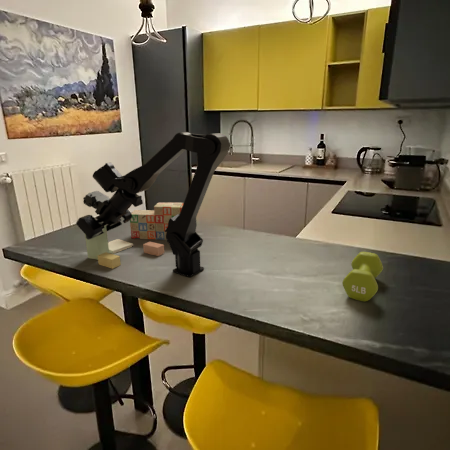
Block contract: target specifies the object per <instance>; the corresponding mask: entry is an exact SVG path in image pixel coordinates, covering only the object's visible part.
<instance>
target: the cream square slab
mask: <svg viewBox="0 0 450 450" xmlns="http://www.w3.org/2000/svg"><path fill="white" fill-rule="evenodd" d="M108 246H109V253H110V254H114V255H115V254H117V253H119V252H121V251H122V252H123V251H125V250H128V249H130V248H133V247H134V243H132V242H129V241H125V240H122V239H119V238H116V239H114V240H110V241H108ZM132 246H133V247H132ZM127 248H128V249H127Z"/></svg>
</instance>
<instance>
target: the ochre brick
mask: <svg viewBox="0 0 450 450" xmlns="http://www.w3.org/2000/svg"><path fill="white" fill-rule="evenodd" d="M97 262H98V263H97V264H98V265H100V266H103V267H106V268H110V269H113V270H114V269H115V268H117V267H119V266H121V256H120V255H117V254H115V253H114V254H112V253H110V252H109V253H107V252H105V253H103V254H100V255H98V260H97Z"/></svg>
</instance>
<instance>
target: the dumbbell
mask: <svg viewBox="0 0 450 450" xmlns="http://www.w3.org/2000/svg"><path fill="white" fill-rule="evenodd" d="M350 264H351V268H352V270H350V272H349V273H348V274H347V275H346V276H345V277H344V278H343V280H342V284H341V285H342V286H343V289H344V291H345V294H346V295H347V297H349V298H350V299H351V300H354V301H355V300H356V301H360V302H369V300H371V299H372V298H373V297H374V296H375V295H376V293H378V290H379V285H378V283H377V280H376V278H378V276H379V275H380V274H381V273H382V271H383V270H384V266H383V262H382V261H381V259H380V256H379V255H378V254H377V253H375V252H370V251H369V252H368V251H360V252H358V254H357V255H356V256H355V257H354V258H353V259H352V261H351V263H350Z"/></svg>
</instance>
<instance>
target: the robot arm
mask: <svg viewBox="0 0 450 450" xmlns="http://www.w3.org/2000/svg"><path fill="white" fill-rule="evenodd" d="M230 149H231V143H230V140H229V138H228V137H227V135H225V134H224V133H221V132H220V133H219V132H218V133H210V134H209V133H208V134H198V133H191V132H188V131H182V132H177V133H175V134H174V136H173V137H172V138H171V139H170V140H169V141H168V142H167V143H166V144H165V145H164V146H163V147H161V148H160V150H158V151H157V152H156V153H155V154H154V155H153V156H152V157H151V158H150V159H149V160H148V161H146V163H144V164H143V165H141V166H139V167H137V168H134V169H133V170H131V171H129V172H127V173H126V174H124V175H122V174H121V173H120V172H119V171H118V170H117V169H116V167H115V166H114V164H113V163H112V162H105V164H104V165H102V166H101V167H100V168H98V169H97V170H95V171H94V172H93V174H92V178H93V180H95V182H96V183H97V184H98V185H99V187H101V189H103V191H105V193H111V194H112V193H113V194H112V196H111V197H109V196H108V195H106V194H104V193H103V192H101V191H99V190H95V191H92V192H88V193H87V194H85V196H83V200H82V201H83V205H85V206H87V207H88V208H91V207H92V208H93V209H95V210H94V212H95V214H96V215H97V216H96V217H94V216H93V215H92V214H86V215H84V216H81V217H79V218H78V219H77V220H76V222H75V223H76V226H77V227H78V228H79V229H80V230H81V231H82V232H83V233H84V236H85V235H86V238H87V239H88V240H89V239H91V238H94V237H96V236H99V235H101V234H103V233H104V232H103V231H102V230H103V229H104V226H106V229H107V232H109V231H111V230H114V229H116V228H119V227H120V226H122V225H123V223H124V224H126V223H128V222H130V219H131V218H132V214H131V213H132V211H130V210H129V209H130V208H131V207H132V206H133V207H135V208H136V207H138V206H141V205H143V204H144V202H143V199H142V198H143V197H142V195H139V193H142V192H145V191H148V190H149V189H150V188H151V187H152V186H153V185H154V183H155V182H156V181H157V178H158V176H159V175H160V174H161V173H162V172H163V171H164V170H165V169H166V168H167V167H168V166H169V165H171V163H173V162H174V161H175V160H176V159H178V157H180V156H181V155H182V154H183V153H184V152H186V151H188V152H192V153H196V162H197V163H196V164H197V165H196V169H195V172H194V174H193V176H192V180H191V183H190V185H189V188H188V191H187V193H186V196H185V198H184V201H183V203H184V204H183V206H182V209H181V212H180V213H179V214H178V215H176V216H174V217H172V218H170V219H169V222H168V227H167V229H166V230H165V232H167V233H166V239H165V240H166V241H167V244H168V245H169V247H170V250H171V252H172V255H173V256H174V259H175V268H173V269H172V272H173V273H176V274H179V275H181V276H185V277H188V278H191V277H193V276H195V275H197V274H198V273H200V272H202V271H204V270H205V267H203V266H201V250H199V248H201V247H202V245H203V243H204V239H203V238H202V236H200V235H199V234H198V233H197V223H198V222H197V216H198V213H199V211H200V209H201V206H202V203H203V201H204V199H205V197H206V193H207V191H208V188H209V186H210V183H211V181H212V178H213V176H214V173H215V171H216V170H217V169H218V167H220V165H221V164H222V162H223V161H224V160H225V158H226V156H227V154H228V153H229V151H230ZM121 218H122V219H123V220H122V219H121ZM121 221H122V222H121Z"/></svg>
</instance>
